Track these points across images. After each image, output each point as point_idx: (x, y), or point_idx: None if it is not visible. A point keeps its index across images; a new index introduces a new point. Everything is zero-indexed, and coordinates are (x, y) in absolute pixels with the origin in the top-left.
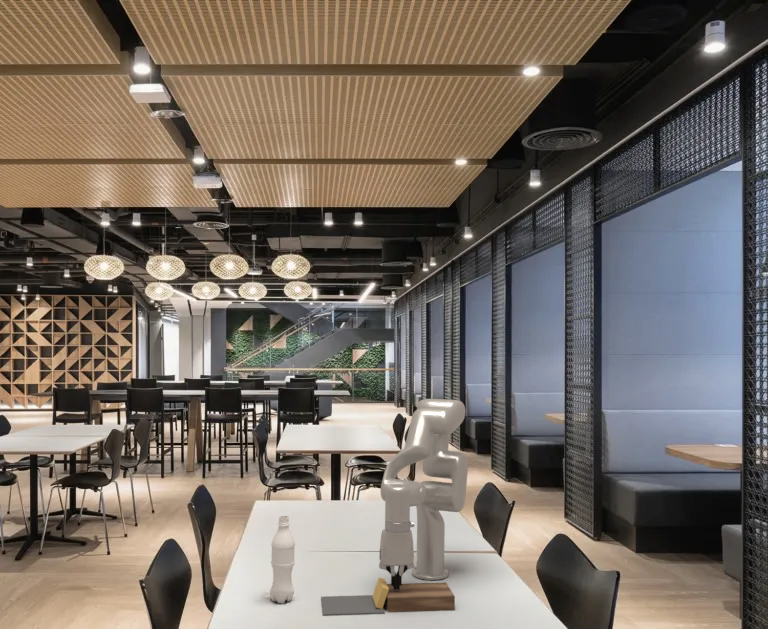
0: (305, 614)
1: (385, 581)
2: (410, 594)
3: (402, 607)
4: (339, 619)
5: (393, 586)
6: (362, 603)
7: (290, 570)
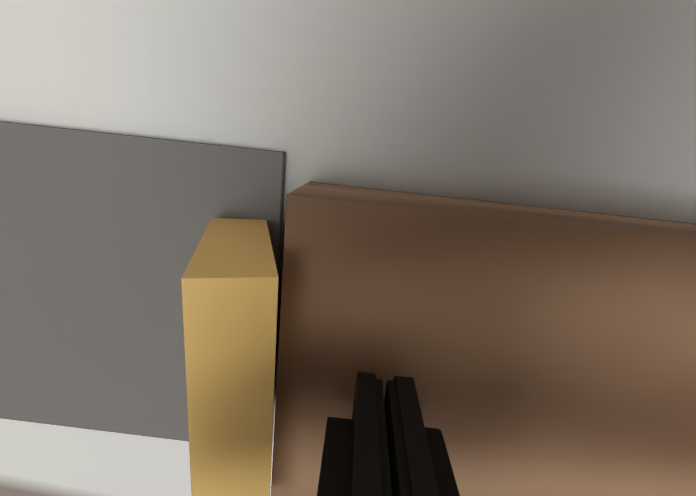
0: None
1: (270, 366)
2: (474, 489)
3: None
4: (18, 457)
5: (353, 410)
6: (139, 300)
7: None
